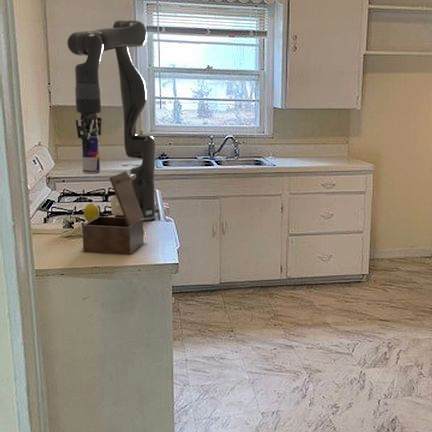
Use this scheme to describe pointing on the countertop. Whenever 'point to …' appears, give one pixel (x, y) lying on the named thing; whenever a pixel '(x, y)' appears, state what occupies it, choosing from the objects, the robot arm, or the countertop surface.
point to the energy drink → (91, 157)
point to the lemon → (91, 212)
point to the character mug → (116, 207)
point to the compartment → (112, 235)
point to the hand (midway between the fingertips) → (90, 150)
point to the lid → (127, 197)
